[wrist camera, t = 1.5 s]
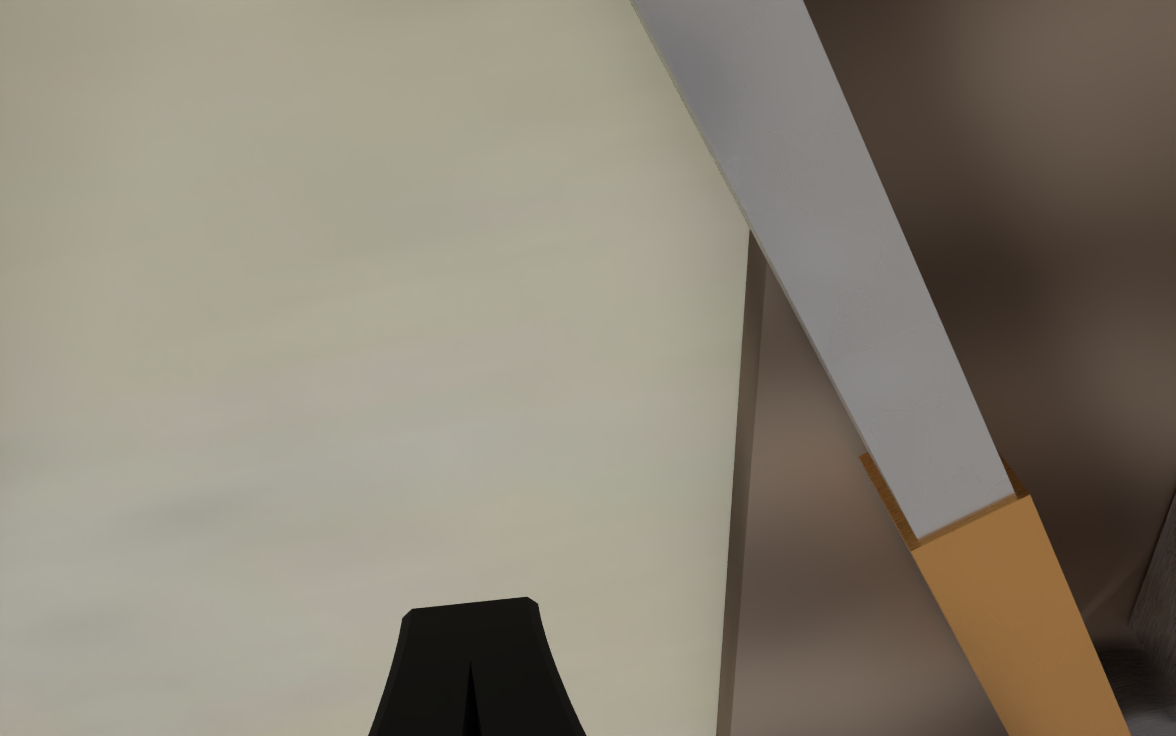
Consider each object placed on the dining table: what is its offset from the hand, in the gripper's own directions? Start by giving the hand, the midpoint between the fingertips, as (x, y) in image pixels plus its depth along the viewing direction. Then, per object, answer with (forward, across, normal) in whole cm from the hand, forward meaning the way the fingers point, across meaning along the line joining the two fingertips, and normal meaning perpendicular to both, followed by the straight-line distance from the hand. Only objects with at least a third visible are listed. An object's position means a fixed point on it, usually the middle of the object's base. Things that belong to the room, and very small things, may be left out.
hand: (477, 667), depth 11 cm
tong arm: (+8, -9, +2) cm, 12 cm away
